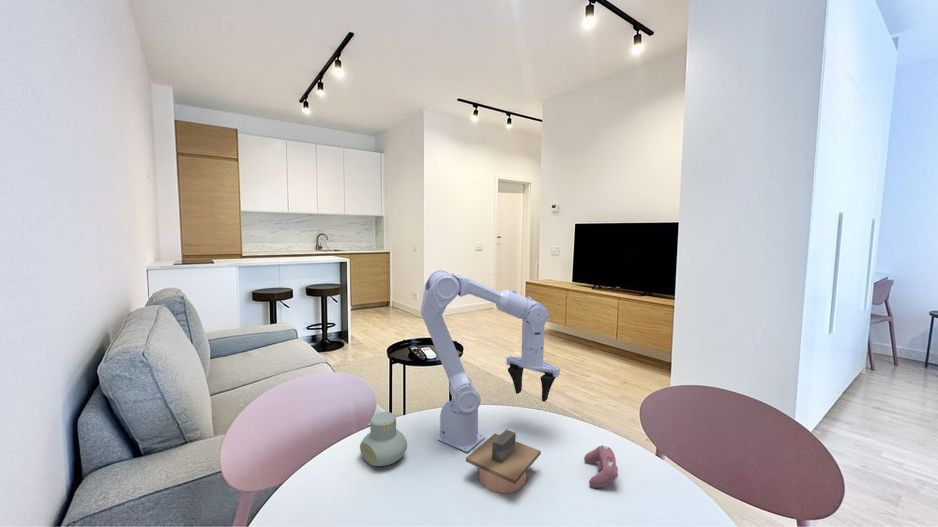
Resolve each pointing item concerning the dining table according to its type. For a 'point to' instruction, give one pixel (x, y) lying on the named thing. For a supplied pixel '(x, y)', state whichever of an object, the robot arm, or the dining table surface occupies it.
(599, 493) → the dining table surface
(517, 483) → the bowl
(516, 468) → the lid
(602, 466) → the video game controller
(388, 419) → the air freshener
